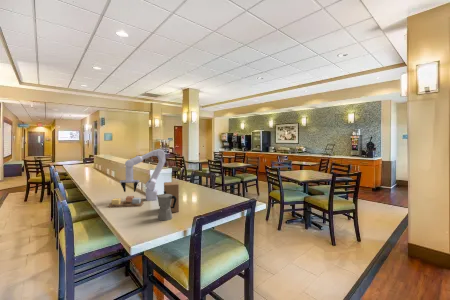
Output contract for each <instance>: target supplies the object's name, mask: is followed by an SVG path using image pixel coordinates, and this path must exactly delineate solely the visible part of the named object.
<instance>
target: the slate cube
mask: <svg viewBox="0 0 450 300" xmlns="http://www.w3.org/2000/svg"><path fill="white" fill-rule="evenodd" d="M141 201H142V200H141V197H134V198H133V199H132V204H140V203H141Z"/></svg>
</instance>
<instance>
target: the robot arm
mask: <svg viewBox="0 0 450 300" xmlns="http://www.w3.org/2000/svg"><path fill="white" fill-rule="evenodd" d="M151 157H156V158H157V159H158V162H157V164H156V166H155V169H153V172H152V175H151V177H150V178H149V179H148V181H147V182H145V188H146V189H145V201H148V202H150V201H158V197H157V196H156V195H159V191H158V189H156V184H157V179H158V177H159V175H160V173H161V172H162V169H163V167H164V165H165V163H166V162H167V161H166V152H165V151H164V150H163V149H160V148H158V149H155V150H151V151H149V152H147V153H145V154H143V155H141V156H140V155H136V156H135V157H133V158H130V159H128V160H127V159H126V161H125V163H124V165H125V179H123V180H121V179H120V180H119V184H120V185H121V187H122V189H123V192H124V193H126V187H127V186H126V185H127V184H132V183H133V193H135V192H137V191H136V190H137V187H138V184H139V183H140V179H134V166H137V165H139V164H140V163H142V162H143V161H144V160H146V159H148V158H151Z"/></svg>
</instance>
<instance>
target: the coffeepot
mask: <svg viewBox="0 0 450 300" xmlns="http://www.w3.org/2000/svg"><path fill="white" fill-rule="evenodd" d="M156 196H157V197H158V199H157V202H158V207H159V210H158V216H157V220H158V221H162V222H165V221H169V220H172V219H173V213H171V208H174V207H175V204H176V200H177V198H176V197H175V196H172V195H171V194H166V191H164V190H163V193H162V194H158V195H156ZM172 199H174V203H173V207H171V208H170V205H171V200H172Z"/></svg>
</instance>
